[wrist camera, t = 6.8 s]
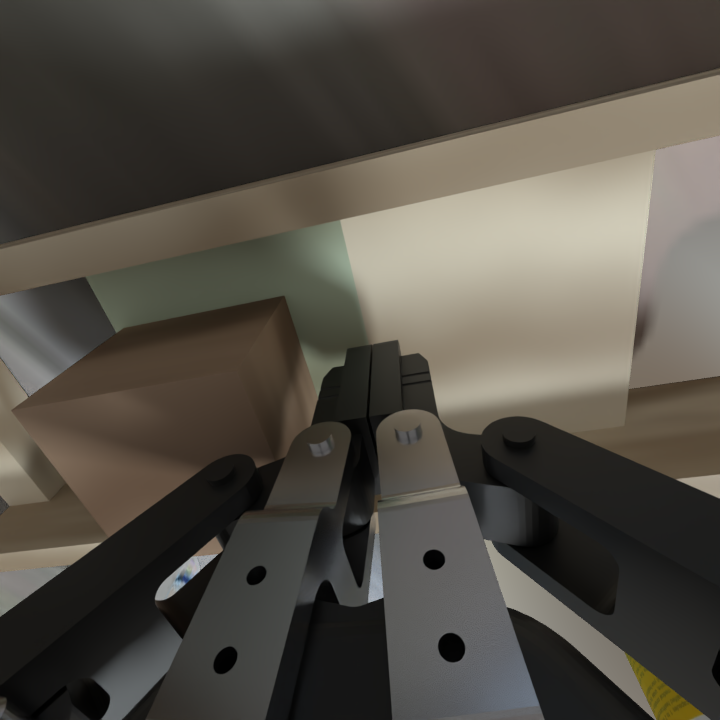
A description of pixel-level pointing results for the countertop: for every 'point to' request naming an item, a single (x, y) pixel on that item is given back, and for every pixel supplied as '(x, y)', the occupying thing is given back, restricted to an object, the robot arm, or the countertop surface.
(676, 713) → the supplement bottle
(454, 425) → the frame
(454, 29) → the countertop surface
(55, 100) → the countertop surface
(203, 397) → the walnut block
